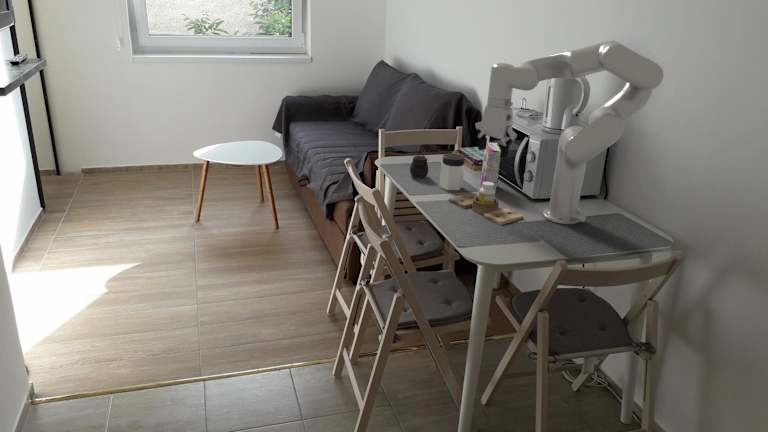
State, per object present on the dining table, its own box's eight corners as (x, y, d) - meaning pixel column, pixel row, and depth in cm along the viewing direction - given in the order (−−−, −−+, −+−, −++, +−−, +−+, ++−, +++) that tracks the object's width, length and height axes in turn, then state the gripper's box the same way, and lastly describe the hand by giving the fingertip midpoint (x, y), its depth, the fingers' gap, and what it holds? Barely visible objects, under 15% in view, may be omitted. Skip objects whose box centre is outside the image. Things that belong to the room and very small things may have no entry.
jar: (457, 192, 235) (461, 161, 231) (436, 188, 238) (439, 157, 234) (464, 185, 243) (468, 155, 239) (444, 181, 246) (447, 151, 241)
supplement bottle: (493, 212, 218) (497, 186, 215) (478, 211, 218) (481, 185, 215) (491, 207, 223) (495, 181, 220) (476, 206, 223) (479, 180, 220)
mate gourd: (407, 178, 247) (409, 153, 243) (412, 172, 254) (414, 148, 250) (425, 181, 245) (427, 156, 241) (429, 175, 252) (432, 151, 248)
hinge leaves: (522, 218, 215) (524, 208, 214) (501, 224, 209) (502, 215, 207) (470, 195, 233) (471, 186, 232) (448, 201, 226) (449, 191, 225)
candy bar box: (479, 182, 247) (484, 141, 241) (492, 183, 247) (498, 142, 241) (483, 192, 237) (488, 150, 231) (496, 193, 237) (502, 151, 231)
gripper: (527, 106, 203) (520, 158, 209) (487, 96, 215) (481, 145, 222) (512, 109, 198) (505, 161, 205) (471, 98, 211) (466, 148, 217)
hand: (492, 153), depth 213 cm, fingers open, 9 cm apart
